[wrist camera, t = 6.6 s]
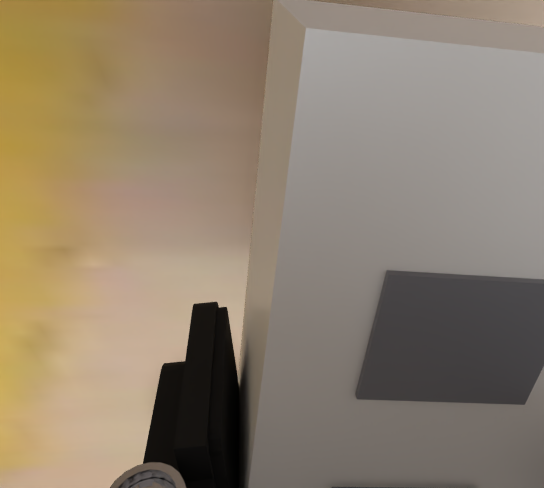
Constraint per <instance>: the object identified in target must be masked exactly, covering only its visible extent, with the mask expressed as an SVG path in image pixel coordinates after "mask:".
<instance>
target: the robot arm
mask: <svg viewBox="0 0 544 488" xmlns="http://www.w3.org/2000/svg"><path fill="white" fill-rule="evenodd" d="M110 488H239V383H238V376H237V370H236V363H235V357H234V350H233V344H232V337H231V330H230V324H229V317H228V311H227V307H221V308H219V307H218V303H217V302H209V303H199V304H194V305H193V309H192V317H191V324H190V331H189V339H188V346H187V353H186V360H185V361H184V362H174V363H164V364H163V366H162V369H161V373H160V379H159V384H158V389H157V394H156V399H155V404H154V410H153V415H152V420H151V425H150V430H149V435H148V440H147V446H146V451H145V456H144V461H143V464H141V465H137V466H135V467H133V468H132V469H130V470H128V471H126V472H124V473H123V474H122V475H121V476H120V477H119V478H117V479H116V480H115V481H114V483H113V484H112V485H111V487H110Z"/></svg>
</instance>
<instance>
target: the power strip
mask: <svg viewBox="0 0 544 488" xmlns="http://www.w3.org/2000/svg"><path fill="white" fill-rule="evenodd" d="M238 383H239V488H544V27H541V26H534V25H525V24H516V23H507V22H498V21H489V20H481V19H472V18H463V17H454V16H445V15H436V14H427V13H418V12H409V11H400V10H391V9H382V8H373V7H364V6H355V5H346V4H338V3H329V2H320V1H311V0H273V9H272V20H271V30H270V41H269V52H268V63H267V73H266V84H265V95H264V105H263V116H262V127H261V137H260V148H259V159H258V169H257V180H256V191H255V201H254V212H253V223H252V233H251V244H250V255H249V266H248V276H247V287H246V298H245V308H244V319H243V330H242V340H241V351H240V362H239V372H238Z"/></svg>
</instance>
